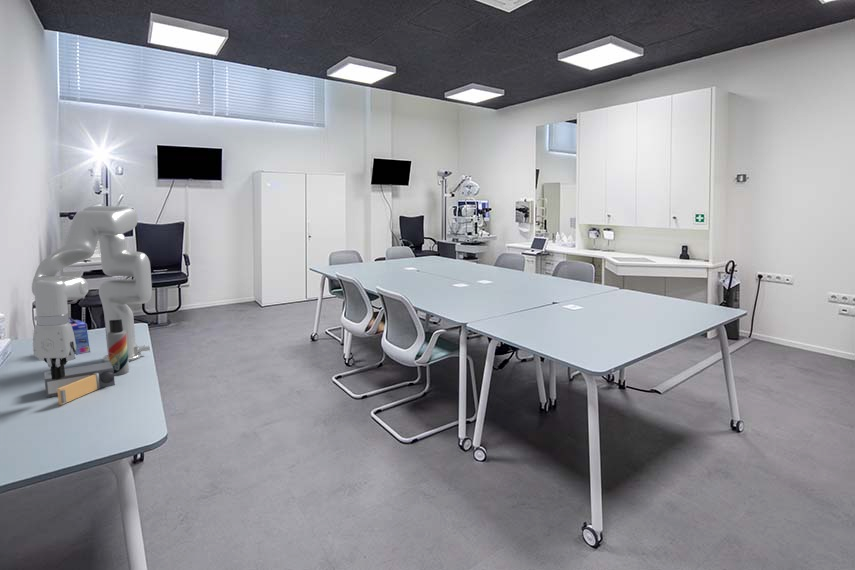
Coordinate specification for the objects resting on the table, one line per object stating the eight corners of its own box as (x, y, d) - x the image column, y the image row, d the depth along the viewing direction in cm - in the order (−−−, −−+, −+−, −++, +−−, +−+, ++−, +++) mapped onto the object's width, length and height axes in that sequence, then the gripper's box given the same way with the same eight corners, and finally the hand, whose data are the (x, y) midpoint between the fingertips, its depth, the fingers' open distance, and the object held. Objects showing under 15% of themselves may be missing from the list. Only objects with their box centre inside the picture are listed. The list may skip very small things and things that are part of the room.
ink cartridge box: (65, 350, 194) (62, 316, 191) (81, 347, 198) (78, 314, 196) (74, 355, 188) (71, 320, 186) (90, 351, 192) (87, 317, 190)
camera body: (111, 377, 165) (110, 359, 163) (115, 386, 157) (113, 366, 156) (46, 389, 153) (43, 369, 152) (46, 398, 146) (44, 378, 145)
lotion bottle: (109, 376, 166) (104, 321, 163) (111, 371, 171) (107, 318, 168) (128, 374, 169) (124, 320, 165) (130, 369, 174) (125, 316, 170)
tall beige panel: (97, 387, 155) (95, 372, 154) (102, 388, 155) (101, 373, 154) (58, 404, 142) (56, 388, 141) (63, 404, 141) (62, 388, 140)
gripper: (17, 322, 138) (23, 381, 141) (68, 323, 138) (73, 382, 141) (38, 317, 145) (44, 373, 148) (86, 318, 145) (91, 374, 148)
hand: (58, 378), depth 144 cm, fingers closed
